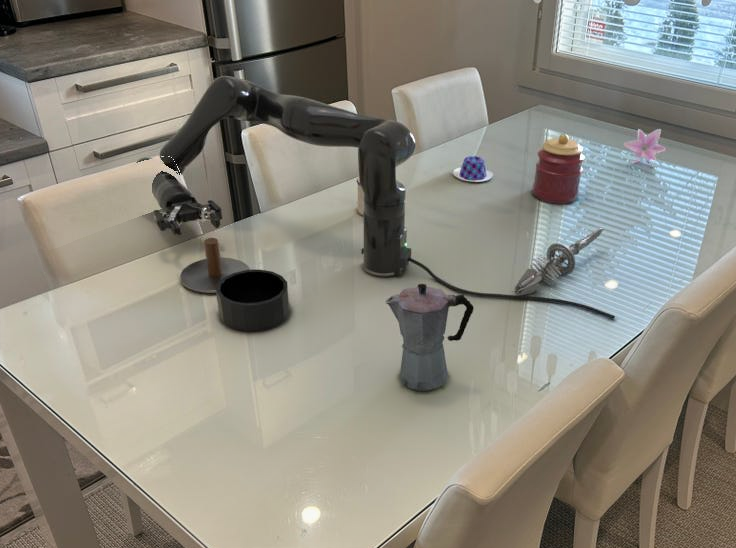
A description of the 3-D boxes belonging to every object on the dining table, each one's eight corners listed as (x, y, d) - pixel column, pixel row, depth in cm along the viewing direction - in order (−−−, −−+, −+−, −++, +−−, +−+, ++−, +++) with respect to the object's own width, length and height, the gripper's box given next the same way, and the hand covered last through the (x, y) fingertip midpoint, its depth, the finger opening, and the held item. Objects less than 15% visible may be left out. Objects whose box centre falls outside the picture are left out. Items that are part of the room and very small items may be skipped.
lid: (261, 267, 167) (257, 231, 162) (232, 299, 155) (227, 262, 150) (201, 257, 169) (195, 221, 164) (168, 288, 158) (160, 251, 152)
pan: (299, 301, 156) (297, 275, 152) (273, 337, 145) (270, 309, 141) (238, 291, 158) (235, 265, 154) (208, 325, 147) (203, 298, 143)
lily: (615, 159, 238) (622, 139, 229) (637, 139, 241) (645, 118, 233) (645, 180, 234) (653, 160, 226) (666, 159, 238) (675, 139, 229)
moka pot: (383, 362, 140) (384, 270, 128) (463, 361, 141) (471, 271, 130) (385, 393, 132) (386, 299, 120) (469, 392, 134) (478, 299, 122)
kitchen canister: (584, 194, 211) (595, 133, 201) (566, 208, 202) (576, 146, 192) (543, 182, 216) (552, 123, 206) (524, 196, 207) (532, 135, 197)
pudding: (493, 185, 213) (495, 167, 210) (452, 182, 213) (454, 165, 210) (491, 169, 223) (493, 152, 219) (452, 167, 222) (453, 150, 219)
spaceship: (622, 228, 175) (597, 207, 177) (535, 292, 156) (508, 268, 158) (607, 250, 181) (583, 229, 183) (521, 314, 162) (496, 290, 164)
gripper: (142, 190, 167) (163, 218, 156) (203, 180, 174) (227, 206, 163) (147, 220, 171) (168, 249, 161) (207, 209, 178) (231, 236, 167)
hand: (198, 228), depth 162 cm, fingers open, 8 cm apart
